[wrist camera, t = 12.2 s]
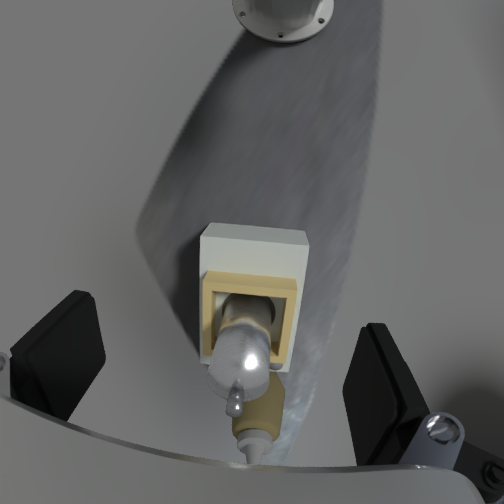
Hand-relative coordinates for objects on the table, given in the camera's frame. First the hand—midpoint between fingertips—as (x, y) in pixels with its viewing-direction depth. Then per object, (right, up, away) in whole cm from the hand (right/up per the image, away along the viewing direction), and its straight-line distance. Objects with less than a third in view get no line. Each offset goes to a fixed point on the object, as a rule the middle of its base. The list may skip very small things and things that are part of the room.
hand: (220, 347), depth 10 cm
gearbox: (+1, -2, +33) cm, 33 cm away
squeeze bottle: (+2, -17, +38) cm, 42 cm away
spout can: (+1, -4, +27) cm, 27 cm away
